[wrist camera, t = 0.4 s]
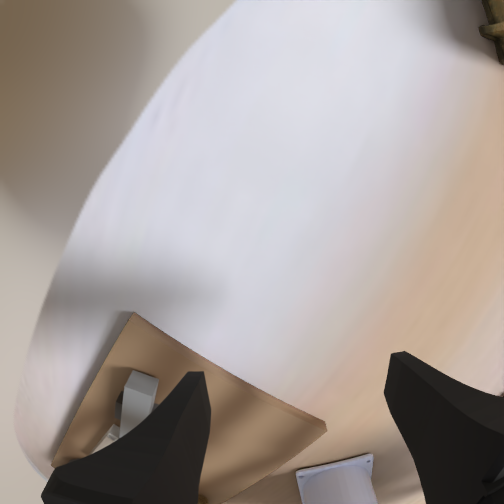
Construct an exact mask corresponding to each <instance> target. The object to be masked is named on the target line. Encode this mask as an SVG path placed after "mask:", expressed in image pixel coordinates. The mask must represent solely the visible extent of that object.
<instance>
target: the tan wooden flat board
mask: <svg viewBox="0 0 504 504" xmlns="http://www.w3.org/2000/svg"><path fill="white" fill-rule="evenodd" d="M188 371H204V375H205V380H206V385H207V390H208V395H209V400H210V405H211V425H210V434H209V439H208V444H207V449H206V454H205V458H204V463H203V468H202V472H201V477H200V484H199V494H201V495H203V496H205V497H206V498H207V499H208V501H209V504H221V503H223V502H225V501H227V500H228V499H230V498H232V497H234V496H235V495H237V494H239V493H240V492H242V491H244V490H245V489H247V488H248V487H250V486H252V485H253V484H255V483H256V482H258V481H260V480H261V479H263V478H264V477H266V476H267V475H269V474H270V473H272V472H273V471H275V470H276V469H277V468H279V467H280V466H282V465H283V464H285V463H286V462H287V461H289V460H290V459H292V458H293V457H294V456H296V455H297V454H298V453H300V452H301V451H302V450H304V449H305V448H306V447H308V446H309V445H310V444H312V443H313V442H314V441H315V440H317V439H318V438H319V437H321V436H322V435H323V434H324V433H325V432H327V428H326V424H325V421H323V420H320V419H318V418H316V417H314V416H312V415H310V414H307V413H305V412H303V411H301V410H299V409H297V408H295V407H293V406H291V405H289V404H287V403H285V402H283V401H281V400H279V399H277V398H275V397H273V396H271V395H269V394H267V393H266V392H264V391H262V390H260V389H258V388H256V387H254V386H252V385H251V384H249V383H247V382H245V381H243V380H242V379H240V378H238V377H236V376H234V375H233V374H231V373H229V372H227V371H226V370H224V369H222V368H221V367H219V366H217V365H215V364H214V363H212V362H210V361H209V360H207V359H205V358H204V357H202V356H200V355H199V354H197V353H195V352H194V351H192V350H191V349H189V348H187V347H186V346H184V345H183V344H181V343H180V342H178V341H176V340H175V339H173V338H172V337H170V336H169V335H167V334H166V333H164V332H163V331H161V330H160V329H158V328H157V327H155V326H154V325H152V324H151V323H149V322H148V321H146V320H145V319H143V318H142V317H141V316H139V315H138V314H136V313H135V312H134V313H133V315H132V316H131V317H130V319H129V320H128V322H127V323H126V325H125V327H124V328H123V330H122V332H121V333H120V335H119V337H118V339H117V340H116V342H115V344H114V345H113V347H112V349H111V351H110V352H109V354H108V356H107V358H106V359H105V361H104V363H103V365H102V367H101V368H100V370H99V372H98V374H97V375H96V377H95V379H94V381H93V383H92V385H91V386H90V388H89V390H88V392H87V394H86V396H85V398H84V399H83V401H82V403H81V405H80V407H79V409H78V411H77V413H76V415H75V417H74V419H73V421H72V423H71V425H70V427H69V429H68V430H67V432H66V435H65V437H64V439H63V441H62V443H61V445H60V447H59V449H58V451H57V453H56V455H55V457H54V459H53V461H52V464H51V466H52V467H54V468H56V467H58V466H61V465H64V464H67V463H70V462H73V461H76V460H79V459H81V458H84V457H86V456H88V455H90V454H93V453H95V452H97V451H99V450H101V449H102V448H104V447H106V446H108V445H110V444H111V443H113V442H114V441H116V440H118V439H119V438H121V437H122V436H124V435H125V434H127V433H128V432H129V431H131V430H132V429H133V428H135V427H136V426H137V425H138V424H140V423H141V422H142V421H143V420H144V419H145V418H146V417H147V416H148V415H149V414H150V413H151V412H152V411H153V410H154V409H156V408H157V407H158V405H159V404H160V403H161V402H162V401H163V400H164V399H165V398H166V397H167V396H168V394H169V393H170V392H171V391H172V390H173V389H174V387H175V386H176V385H177V384H178V383H179V381H180V380H181V379H182V378H183V377H184V375H185V374H186V373H187V372H188Z"/></svg>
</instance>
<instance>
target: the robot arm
mask: <svg viewBox="0 0 504 504" xmlns="http://www.w3.org/2000/svg"><path fill="white" fill-rule="evenodd" d="M384 395H385V398H386V402H387V405H388V407H389V410H390V413H391V415H392V417H393V419H394V421H395V423H396V425H397V427H398V429H399V431H400V433H401V435H402V437H403V439H404V441H405V443H406V445H407V447H408V449H409V451H410V453H411V455H412V457H413V460H414V462H415V465H416V468H417V471H418V475H419V478H420V481H421V485H422V488H423V492H424V496H425V501H426V504H504V398H503V397H499V396H495V395H492V394H488V393H485V392H482V391H480V390H477V389H475V388H472V387H470V386H467V385H465V384H463V383H461V382H459V381H457V380H455V379H453V378H451V377H449V376H447V375H445V374H443V373H442V372H440V371H438V370H436V369H435V368H433V367H431V366H430V365H428V364H426V363H425V362H423V361H421V360H420V359H418V358H416V357H415V356H413V355H411V354H409V353H407V352H405V351H403V352H397V353H392V354H391V357H390V363H389V368H388V374H387V379H386V384H385V389H384ZM210 425H211V405H210V400H209V395H208V390H207V385H206V380H205V375H204V371H188V372H187V373H186V374H185V375H184V377H183V378H182V379H181V380H180V381H179V383H178V384H177V385H176V386H175V387H174V389H173V390H172V391H171V392H170V393H169V394H168V396H167V397H166V398H165V399H164V400H163V401H162V402H161V403H160V404H159V405H158V407H157V408H156V409H154V410H153V411H152V412H151V413H150V414H149V415H148V416H147V417H146V418H145V419H144V420H143V421H142V422H141V423H140V424H138V425H137V426H136V427H135V428H133V429H132V430H131V431H129V432H128V433H127V434H125V435H124V436H122V437H121V438H119V439H118V440H116V441H114V442H113V443H111V444H110V445H108V446H106V447H104V448H102V449H101V450H99V451H97V452H95V453H93V454H90V455H88V456H86V457H84V458H81V459H79V460H76V461H73V462H70V463H67V464H64V465H61V466H58V467H56V468H55V470H54V471H53V473H52V475H51V477H50V479H49V481H48V482H47V484H46V486H45V488H44V490H43V492H42V494H41V498H42V500H43V502H44V504H198V494H199V484H200V477H201V472H202V468H203V463H204V458H205V454H206V449H207V444H208V439H209V434H210ZM373 458H374V457H373V454H366V455H362V456H359V457H355V458H351V459H347V460H343V461H339V462H335V463H331V464H326V465H322V466H317V467H312V468H306V469H301V470H298V471H296V478H297V483H298V487H299V491H300V496H301V500H302V504H378V501H377V498H376V495H375V492H374V489H373V486H372V483H371V476H372V467H373Z"/></svg>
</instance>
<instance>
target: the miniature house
mask: <svg viewBox="0 0 504 504" xmlns="http://www.w3.org/2000/svg"><path fill="white" fill-rule="evenodd" d="M481 1H482V3H483V6H484V9H485V12H486V15H487V18H488V21H489V25H488V26H484V25H482V26H480V27H479V31H480V34H481V36H483V37H485V38H488V39H490V40H493V41H494V42H495V46H496V50H497V54H498V58H499V62H500V64H502V65H504V0H481Z"/></svg>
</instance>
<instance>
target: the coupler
mask: <svg viewBox="0 0 504 504" xmlns="http://www.w3.org/2000/svg"><path fill="white" fill-rule="evenodd" d="M198 504H209V501H208V499H207V498H206V497H205V496H203V495H201V494H198Z"/></svg>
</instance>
